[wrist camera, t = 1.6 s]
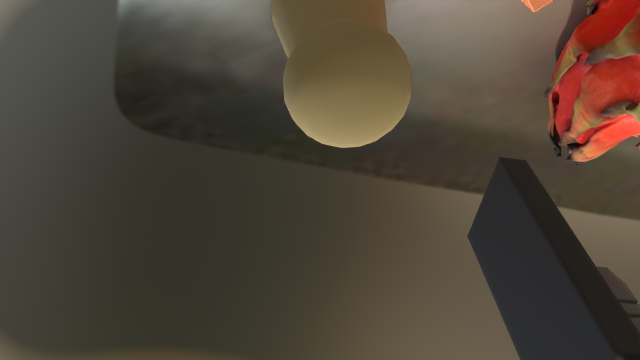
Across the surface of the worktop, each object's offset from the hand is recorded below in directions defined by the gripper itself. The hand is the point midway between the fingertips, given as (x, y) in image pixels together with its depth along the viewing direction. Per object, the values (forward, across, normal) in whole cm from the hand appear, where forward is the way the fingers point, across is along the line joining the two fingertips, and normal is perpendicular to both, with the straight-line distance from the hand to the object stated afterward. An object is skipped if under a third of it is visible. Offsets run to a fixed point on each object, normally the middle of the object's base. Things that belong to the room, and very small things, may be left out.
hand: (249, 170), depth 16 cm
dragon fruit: (+19, +20, -1) cm, 27 cm away
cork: (+19, +4, -1) cm, 19 cm away
